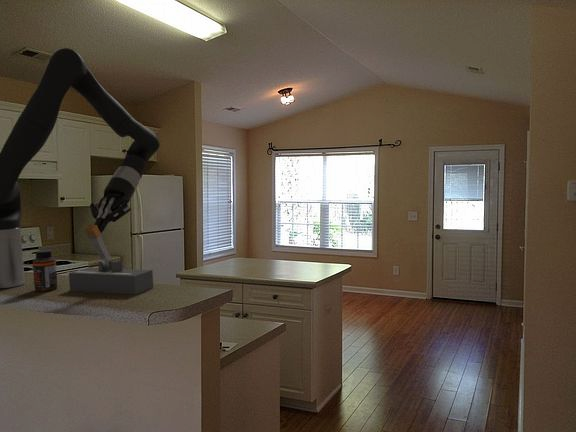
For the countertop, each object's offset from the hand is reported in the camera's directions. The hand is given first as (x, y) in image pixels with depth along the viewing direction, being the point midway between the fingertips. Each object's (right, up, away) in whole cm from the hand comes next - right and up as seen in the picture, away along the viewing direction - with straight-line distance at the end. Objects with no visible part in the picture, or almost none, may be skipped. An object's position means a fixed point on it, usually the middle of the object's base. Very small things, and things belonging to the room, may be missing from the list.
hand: (96, 231), depth 131 cm
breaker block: (+2, -16, +6) cm, 17 cm away
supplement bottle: (-17, -17, +8) cm, 26 cm away
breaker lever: (+2, -10, +5) cm, 12 cm away
